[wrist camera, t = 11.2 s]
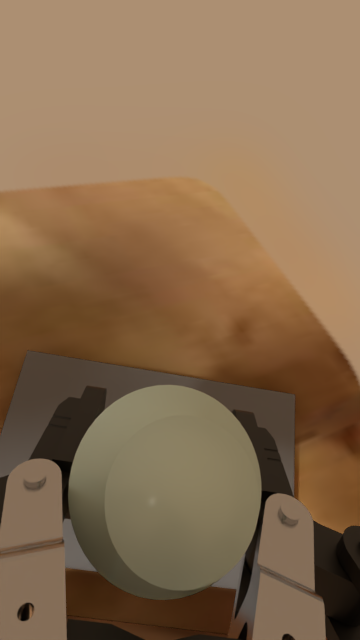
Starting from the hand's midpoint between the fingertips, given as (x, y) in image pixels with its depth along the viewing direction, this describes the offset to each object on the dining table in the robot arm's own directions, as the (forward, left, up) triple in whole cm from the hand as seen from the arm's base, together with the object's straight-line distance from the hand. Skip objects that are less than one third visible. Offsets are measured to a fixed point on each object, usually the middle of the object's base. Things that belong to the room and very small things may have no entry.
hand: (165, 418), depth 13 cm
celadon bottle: (0, -2, -5) cm, 5 cm away
